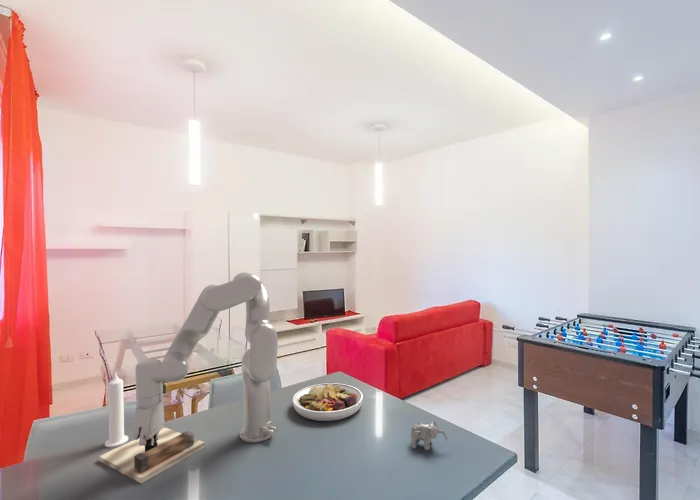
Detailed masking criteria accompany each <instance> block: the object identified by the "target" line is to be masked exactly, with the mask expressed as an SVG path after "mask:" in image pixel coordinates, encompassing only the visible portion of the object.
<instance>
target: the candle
mask: <svg viewBox="0 0 700 500" xmlns="http://www.w3.org/2000/svg"><path fill="white" fill-rule="evenodd" d="M107 387H108V388H107V390H108V391H107V397H108V398H107V399H108V401H107V402H108V439H107V440H106V441H105V442H104V446H105V447H106V448H118V447H120V446H122V445H124V444H126V443H128V441H129V436H128V435H125V413H124V411H125V410H124V409H125V406H124V380H123V379H121V378H120V377H118V374H117V372H114V375H113V377H112V379H111V380H110V381H108V383H107Z"/></svg>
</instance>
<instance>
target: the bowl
mask: <svg viewBox="0 0 700 500" xmlns="http://www.w3.org/2000/svg"><path fill="white" fill-rule="evenodd" d="M363 402H364V394H363V392H361V390H359V388H357V387H354V386H352V385H348V384H344V383H331V382H330V383H328V382H327V383H320V384H319V383H318V384H314V385H310V386H307V387H304V388H302V389H300V390H298V391H297V392H296V393H295V394H294V395H293V396H292V405H293V407H294V410H295V411H296V412H297V413H298V415H300V416H301V417H303V418H306V419H308V420H312V421H318V422H332V421H339V420H342V419H346V418H348V417H350V416H352V415H354V414H355V413H357V412H358V411H359V410H360V408H361V406H362V405H363Z"/></svg>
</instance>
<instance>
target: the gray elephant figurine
mask: <svg viewBox="0 0 700 500" xmlns="http://www.w3.org/2000/svg"><path fill="white" fill-rule="evenodd" d="M410 428H411V429H410V430H411V432H410V438H411V439H410V440H411V448H412V449H413V450H415V449H417V442H418V441H422V442H423V444H424V446H423V447H424V451H426V452H427V451H429V450H430V449H431V448H430V447H431V446H430V445H431V444H432V442H433V439H437V436H438V434H442V435H443V436H444V439H445V441H448V437H447V435H446V433H445V431H443V430H441V429H438V428H437V421H435V420H433V421H431V423H429V424H428V423H427V424H424V423H423V422H418V423H417V424H413V425H412V426H410Z"/></svg>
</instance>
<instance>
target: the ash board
mask: <svg viewBox="0 0 700 500" xmlns="http://www.w3.org/2000/svg"><path fill="white" fill-rule="evenodd" d="M181 434H182V432H179V431H177V430H173V429H171V428H168V427H165V426H163V427H162V428H161V430H160V431H159V434H158V441H156V442H157V446H158V445H160V444H162V443H164V442H166V441H169V440H171V439H173V438H175V437H177V436H179V435H181ZM139 440H140V438H139V439H137V440H134V439H133V440H131V441H129V442H126V443H124V444H122V445H120V446H117V447H115V448H114V449H112V450H110V451H108V452H105V453H103V454H101V455H99V456H98V461H99V462H101V463H102V464H104V465H106V466H107V467H110V468H112V469H113V470H116V471H117V472H119V473H121V474H123V475H125V476H127V477H128V478H130V479H132V480H134V481H136V482H137V483H139V484H143V483H145V482H147V481H149V480H150V479H152V478H154V477H156V476H157V475H159V474H161V473H162V472H164V471H166V470H167V469H170V468H171V467H173V466H175V465H177V464H178V463H179V462H182V461H183V460H185V459H186V458H188V457H190V456H193V455H194V454H195V453H197V452H199V451H200V450H202V449H204V448H206V442H205V441H202V440H200V439H196V438H195V437H194V444H193V445H192V446H190V447H187V448H185V449H183V450H182V451H180V452H178V453H176V454H174V455H172V456H170V457H169V458H167V459H165V460H163V461H161V462H159V463H157V464H156V465H154V466H152V467H150V468H148V469H147V470H145V471H143V472H140V471H138V470H136V469H135V468H134V456H135V455H137V454H139V453H144V452H145V446H144V445H142V446H139Z"/></svg>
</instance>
